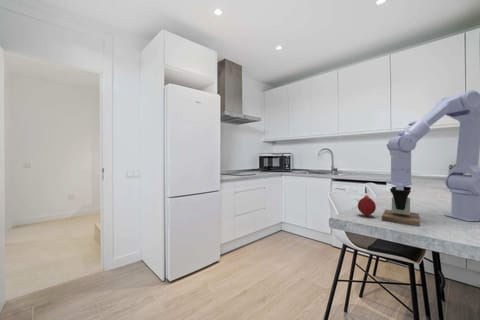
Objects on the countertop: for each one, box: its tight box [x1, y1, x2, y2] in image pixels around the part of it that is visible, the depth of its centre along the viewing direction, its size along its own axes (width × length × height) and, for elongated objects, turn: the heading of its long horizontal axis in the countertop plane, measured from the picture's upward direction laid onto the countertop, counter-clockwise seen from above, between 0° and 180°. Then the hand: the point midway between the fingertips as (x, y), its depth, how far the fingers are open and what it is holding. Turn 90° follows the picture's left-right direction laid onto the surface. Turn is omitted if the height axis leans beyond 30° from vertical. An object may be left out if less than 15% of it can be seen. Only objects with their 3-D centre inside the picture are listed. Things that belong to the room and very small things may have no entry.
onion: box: [357, 194, 377, 217], centre depth 80 cm, size 6×6×8 cm
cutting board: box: [381, 209, 420, 227], centre depth 76 cm, size 12×10×2 cm
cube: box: [391, 196, 411, 215], centre depth 76 cm, size 5×5×5 cm
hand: (400, 208), depth 76 cm, fingers closed on cube, 5 cm apart
